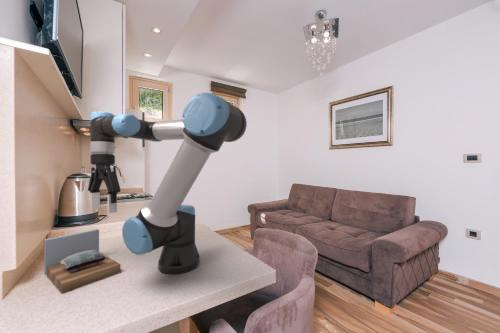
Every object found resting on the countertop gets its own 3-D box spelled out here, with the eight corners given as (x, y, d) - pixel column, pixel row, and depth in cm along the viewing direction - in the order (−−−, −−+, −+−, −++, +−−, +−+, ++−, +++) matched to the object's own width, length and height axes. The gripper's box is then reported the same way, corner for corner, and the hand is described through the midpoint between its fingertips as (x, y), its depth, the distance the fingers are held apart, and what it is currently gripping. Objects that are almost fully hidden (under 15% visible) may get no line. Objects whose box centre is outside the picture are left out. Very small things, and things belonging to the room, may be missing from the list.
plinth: (120, 272, 75) (120, 264, 75) (61, 294, 62) (61, 283, 62) (100, 260, 86) (100, 252, 86) (46, 276, 73) (46, 267, 73)
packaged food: (58, 268, 72) (58, 254, 72) (99, 257, 81) (99, 244, 81) (64, 277, 67) (64, 261, 67) (107, 263, 76) (108, 250, 76)
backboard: (98, 259, 87) (99, 229, 87) (45, 274, 74) (45, 240, 74) (97, 257, 88) (97, 229, 88) (44, 273, 75) (44, 239, 75)
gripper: (131, 152, 76) (131, 211, 75) (99, 156, 89) (99, 207, 89) (107, 150, 69) (108, 215, 69) (77, 155, 83) (77, 210, 82)
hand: (103, 211), depth 79 cm, fingers open, 13 cm apart
